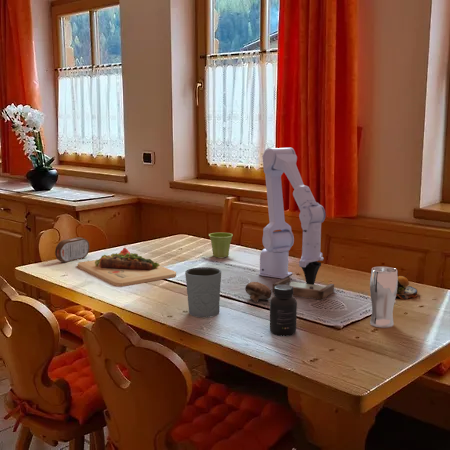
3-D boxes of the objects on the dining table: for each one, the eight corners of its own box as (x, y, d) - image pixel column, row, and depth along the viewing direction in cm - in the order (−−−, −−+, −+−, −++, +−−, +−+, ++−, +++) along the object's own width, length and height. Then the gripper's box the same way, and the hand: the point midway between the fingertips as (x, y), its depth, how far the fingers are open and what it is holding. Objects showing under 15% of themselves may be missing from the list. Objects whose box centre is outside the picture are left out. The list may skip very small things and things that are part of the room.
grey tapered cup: (208, 320, 164) (208, 277, 162) (178, 314, 169) (177, 272, 167) (228, 310, 173) (228, 269, 170) (198, 304, 178) (198, 265, 176)
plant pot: (232, 259, 236) (232, 237, 234) (208, 258, 236) (208, 236, 234) (232, 253, 245) (232, 232, 243) (209, 253, 245) (209, 232, 244)
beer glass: (396, 329, 157) (399, 273, 155) (368, 327, 159) (371, 271, 156) (394, 320, 164) (397, 266, 162) (367, 319, 166) (370, 265, 163)
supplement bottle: (267, 327, 158) (268, 283, 156) (293, 327, 159) (294, 282, 157) (271, 337, 152) (272, 290, 150) (298, 336, 152) (299, 290, 150)
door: (283, 292, 192) (283, 285, 192) (292, 287, 198) (292, 280, 198) (318, 298, 186) (318, 290, 186) (326, 292, 192) (327, 285, 192)
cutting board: (75, 267, 224) (74, 247, 223) (132, 259, 238) (131, 240, 237) (118, 288, 196) (117, 266, 195) (179, 277, 210) (179, 256, 209)
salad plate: (390, 287, 198) (392, 264, 197) (424, 294, 190) (426, 271, 189) (370, 294, 190) (371, 271, 189) (404, 302, 182) (406, 278, 180)
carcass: (272, 292, 191) (272, 282, 191) (286, 284, 200) (286, 275, 199) (321, 300, 183) (322, 290, 182) (333, 291, 192) (334, 282, 191)
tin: (85, 256, 240) (84, 235, 239) (91, 257, 238) (90, 236, 237) (55, 263, 228) (53, 241, 227) (60, 264, 226) (59, 242, 225)
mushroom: (249, 296, 176) (255, 276, 178) (237, 299, 183) (243, 280, 185) (272, 306, 178) (278, 287, 180) (259, 309, 185) (265, 291, 187)
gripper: (314, 248, 185) (313, 291, 188) (331, 240, 198) (330, 281, 200) (293, 246, 189) (292, 288, 191) (311, 238, 201) (310, 278, 204)
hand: (310, 284), depth 196 cm, fingers closed
